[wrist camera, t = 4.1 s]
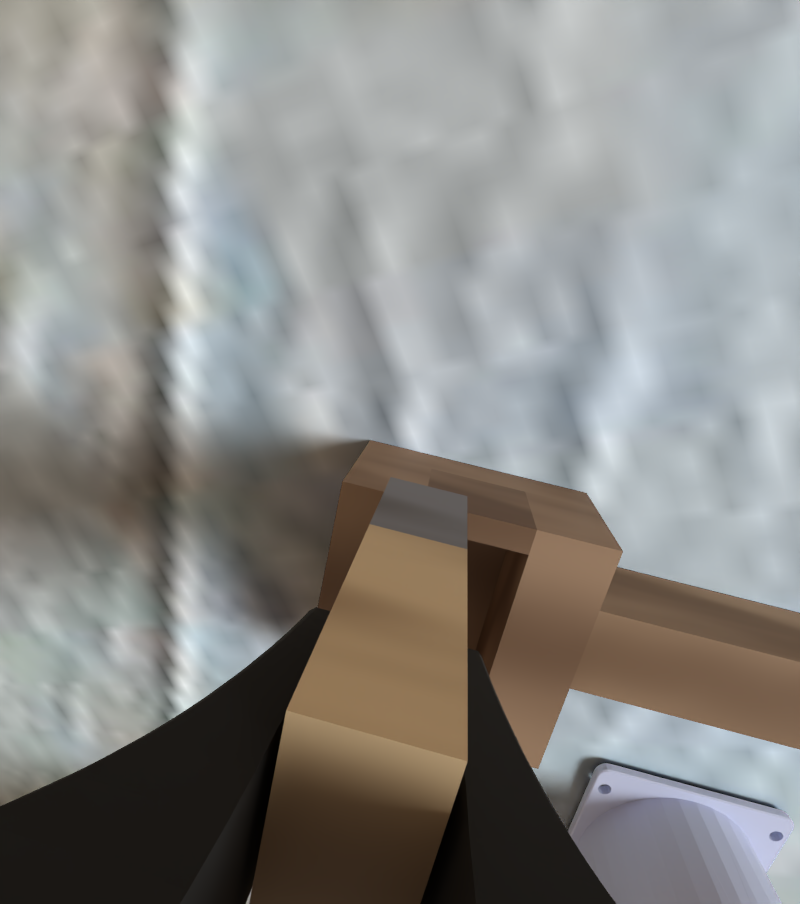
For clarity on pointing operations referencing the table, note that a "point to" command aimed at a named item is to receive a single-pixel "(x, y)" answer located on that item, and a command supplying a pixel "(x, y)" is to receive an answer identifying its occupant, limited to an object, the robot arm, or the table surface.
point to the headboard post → (584, 609)
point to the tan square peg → (376, 718)
